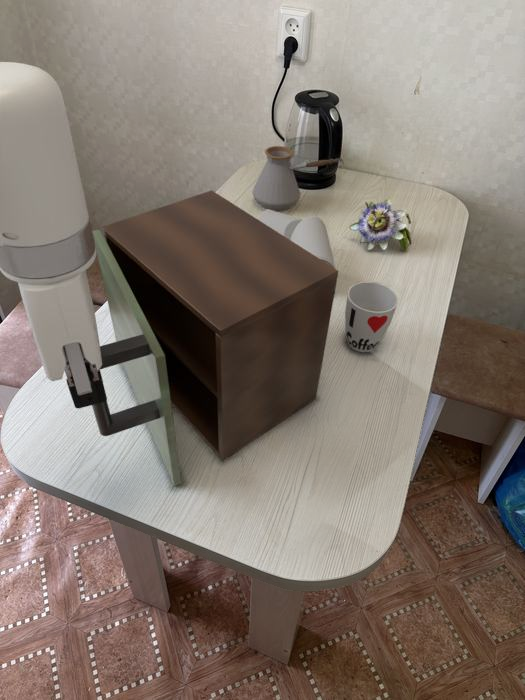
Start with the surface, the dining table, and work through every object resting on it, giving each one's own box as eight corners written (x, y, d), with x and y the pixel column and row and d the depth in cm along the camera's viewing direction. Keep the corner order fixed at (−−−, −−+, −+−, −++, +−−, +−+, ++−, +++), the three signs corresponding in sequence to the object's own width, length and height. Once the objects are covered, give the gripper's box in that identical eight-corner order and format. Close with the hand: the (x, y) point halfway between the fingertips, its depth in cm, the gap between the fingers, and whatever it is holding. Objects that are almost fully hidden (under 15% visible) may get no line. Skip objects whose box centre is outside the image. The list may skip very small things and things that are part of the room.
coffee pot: (243, 206, 121) (244, 144, 111) (267, 188, 128) (270, 128, 118) (323, 233, 114) (332, 169, 103) (343, 212, 121) (354, 150, 111)
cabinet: (223, 461, 69) (220, 330, 53) (127, 356, 83) (101, 227, 66) (316, 399, 78) (338, 270, 61) (215, 314, 92) (211, 190, 75)
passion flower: (366, 270, 113) (341, 228, 107) (379, 239, 119) (355, 198, 113) (413, 259, 106) (389, 214, 100) (424, 227, 112) (402, 182, 106)
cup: (332, 350, 86) (341, 304, 79) (345, 322, 92) (354, 276, 85) (379, 364, 84) (392, 318, 77) (389, 334, 90) (402, 289, 83)
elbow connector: (360, 254, 106) (275, 228, 112) (365, 214, 97) (273, 188, 103) (325, 314, 97) (236, 281, 103) (328, 276, 89) (230, 243, 95)
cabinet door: (122, 507, 64) (84, 378, 47) (77, 371, 80) (37, 240, 63) (181, 483, 66) (165, 354, 50) (126, 357, 83) (99, 228, 66)
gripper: (-9, 203, 44) (45, 353, 57) (-4, 311, 34) (60, 465, 47) (79, 191, 46) (112, 338, 59) (109, 289, 36) (141, 442, 49)
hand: (89, 393), depth 53 cm, fingers closed on cabinet door
